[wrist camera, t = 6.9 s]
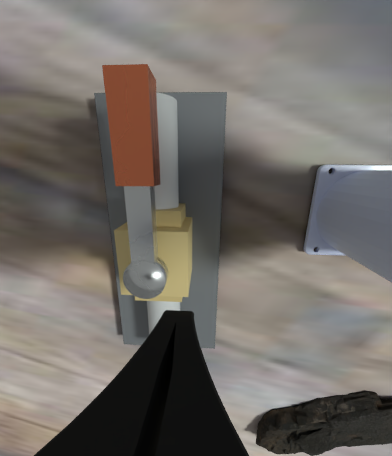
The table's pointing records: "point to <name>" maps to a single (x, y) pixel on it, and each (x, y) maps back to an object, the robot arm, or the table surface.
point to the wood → (327, 424)
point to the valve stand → (175, 212)
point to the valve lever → (137, 170)
